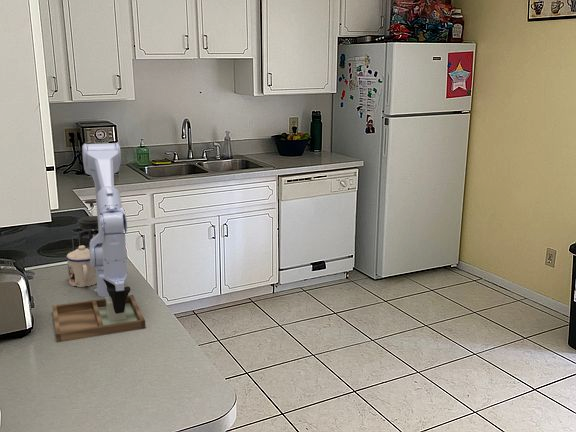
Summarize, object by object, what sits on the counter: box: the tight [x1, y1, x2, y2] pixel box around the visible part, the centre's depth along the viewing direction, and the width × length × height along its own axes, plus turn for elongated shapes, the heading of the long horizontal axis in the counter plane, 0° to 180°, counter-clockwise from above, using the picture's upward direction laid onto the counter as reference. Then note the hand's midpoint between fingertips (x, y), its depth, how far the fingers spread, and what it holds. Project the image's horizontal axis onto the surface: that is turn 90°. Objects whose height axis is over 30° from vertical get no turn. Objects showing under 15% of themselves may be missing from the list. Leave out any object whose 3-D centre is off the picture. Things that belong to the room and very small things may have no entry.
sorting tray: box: [51, 294, 147, 343], centre depth 153 cm, size 18×21×3 cm
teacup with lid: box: [65, 244, 97, 288], centre depth 178 cm, size 12×9×12 cm
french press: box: [71, 199, 100, 251], centre depth 189 cm, size 12×9×23 cm
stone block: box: [105, 297, 126, 321], centre depth 154 cm, size 4×4×5 cm
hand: (117, 307), depth 154 cm, fingers open, 7 cm apart
